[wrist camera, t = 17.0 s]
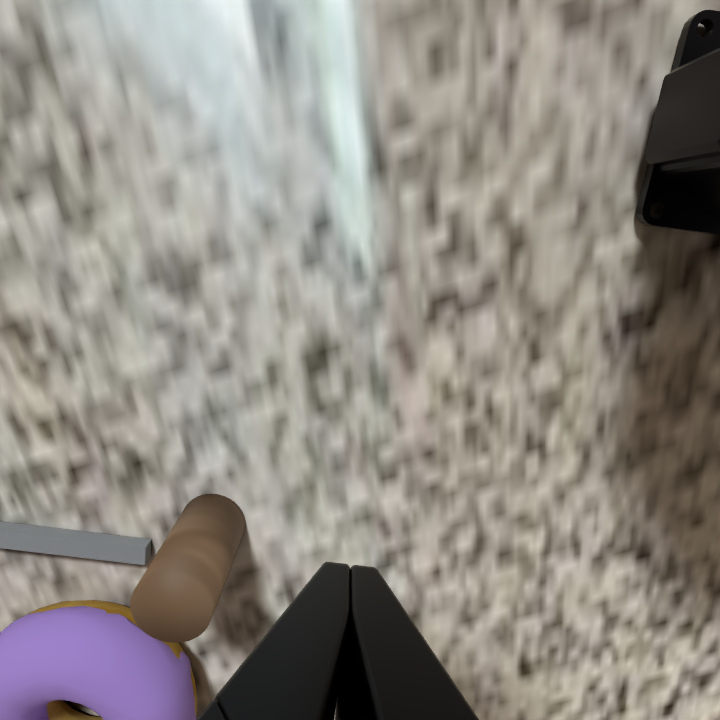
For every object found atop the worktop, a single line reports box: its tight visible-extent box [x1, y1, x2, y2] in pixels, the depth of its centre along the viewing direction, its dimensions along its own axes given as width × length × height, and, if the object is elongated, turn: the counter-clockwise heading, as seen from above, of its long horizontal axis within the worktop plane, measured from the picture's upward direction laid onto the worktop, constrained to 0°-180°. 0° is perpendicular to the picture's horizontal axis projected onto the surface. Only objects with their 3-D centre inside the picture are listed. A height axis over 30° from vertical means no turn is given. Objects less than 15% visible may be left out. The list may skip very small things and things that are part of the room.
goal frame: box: [0, 521, 151, 565], centre depth 24 cm, size 10×16×1 cm, turn 172°
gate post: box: [130, 494, 245, 643], centre depth 19 cm, size 3×3×5 cm
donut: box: [0, 600, 197, 720], centre depth 22 cm, size 10×9×5 cm
